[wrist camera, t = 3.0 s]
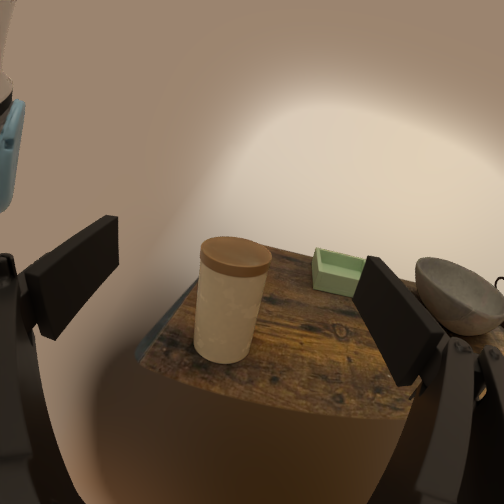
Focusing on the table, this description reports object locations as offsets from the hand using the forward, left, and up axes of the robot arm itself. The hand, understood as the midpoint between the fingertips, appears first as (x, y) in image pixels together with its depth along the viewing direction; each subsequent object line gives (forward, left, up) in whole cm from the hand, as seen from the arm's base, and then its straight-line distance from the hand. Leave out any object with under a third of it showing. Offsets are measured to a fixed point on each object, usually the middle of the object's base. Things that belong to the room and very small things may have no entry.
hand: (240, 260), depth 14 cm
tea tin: (-2, +10, -15) cm, 18 cm away
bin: (+14, +32, -15) cm, 38 cm away
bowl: (+36, +26, -15) cm, 46 cm away
